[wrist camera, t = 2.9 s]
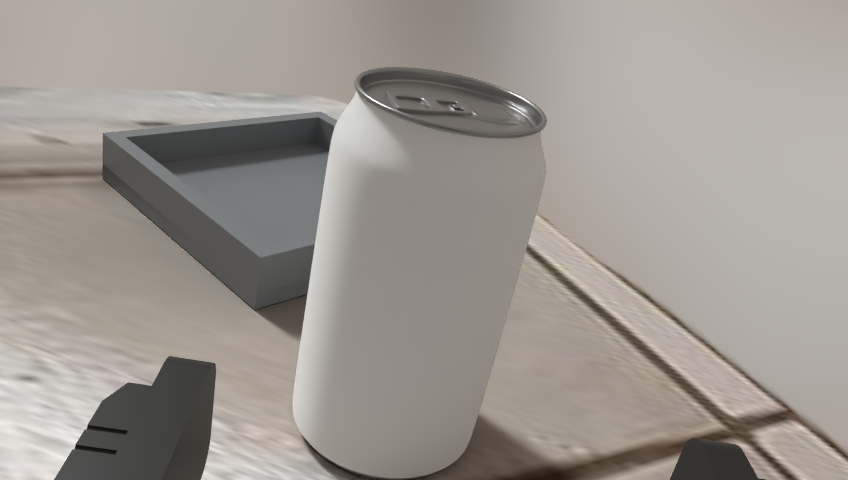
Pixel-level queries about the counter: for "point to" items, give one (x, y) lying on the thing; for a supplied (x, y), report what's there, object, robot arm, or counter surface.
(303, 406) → the can
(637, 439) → the counter surface
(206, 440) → the robot arm
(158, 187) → the bin
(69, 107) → the counter surface
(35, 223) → the counter surface
